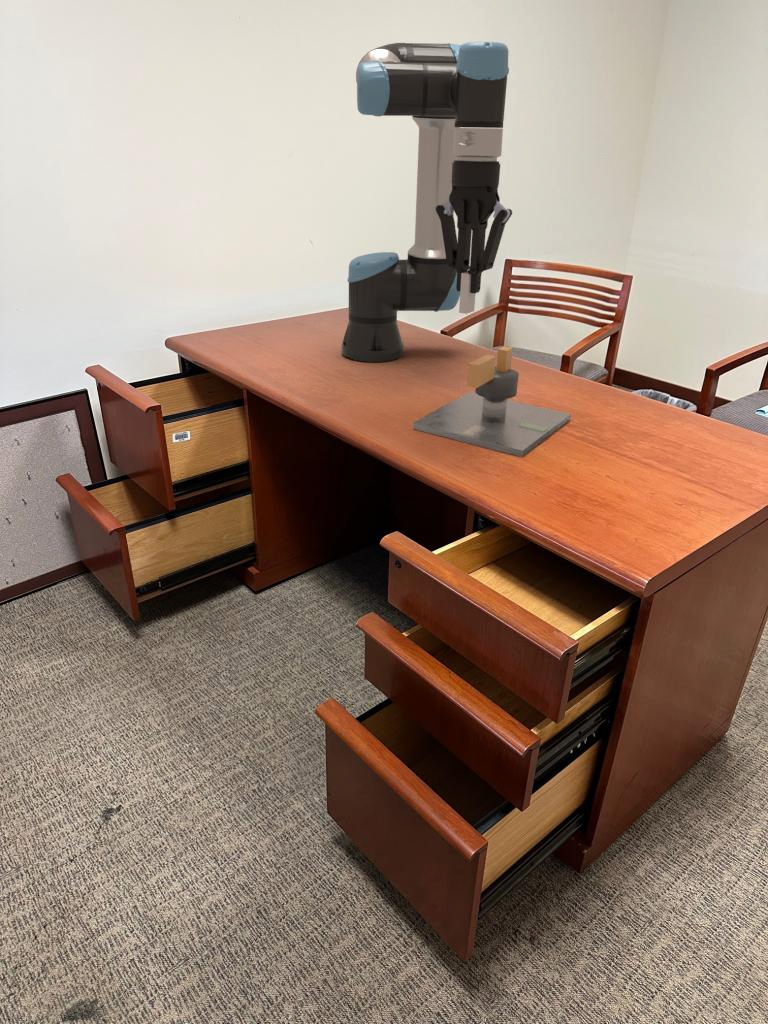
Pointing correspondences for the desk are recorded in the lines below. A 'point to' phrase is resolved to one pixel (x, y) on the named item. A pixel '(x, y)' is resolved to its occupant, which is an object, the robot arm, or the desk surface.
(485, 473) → the desk surface
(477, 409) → the post plate
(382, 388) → the desk surface
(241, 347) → the desk surface
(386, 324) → the robot arm
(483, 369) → the cap
